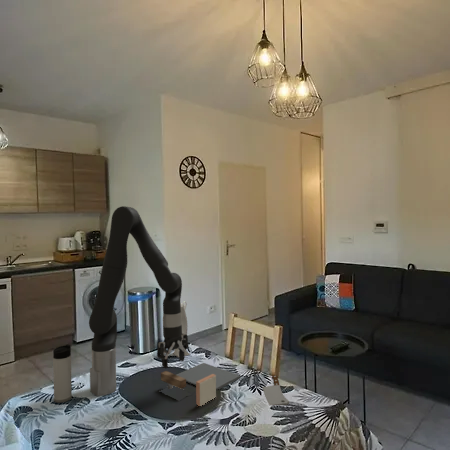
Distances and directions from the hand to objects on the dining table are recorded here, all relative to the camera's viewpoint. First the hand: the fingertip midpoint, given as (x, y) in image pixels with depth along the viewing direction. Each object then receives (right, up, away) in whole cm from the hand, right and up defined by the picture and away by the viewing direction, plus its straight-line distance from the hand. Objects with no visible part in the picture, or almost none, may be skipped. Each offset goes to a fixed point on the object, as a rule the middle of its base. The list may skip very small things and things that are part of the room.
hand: (173, 364), depth 145 cm
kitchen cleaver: (+40, -11, +1) cm, 41 cm away
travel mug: (-42, -12, -4) cm, 44 cm away
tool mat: (+13, -11, +13) cm, 21 cm away
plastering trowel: (+1, -11, -1) cm, 11 cm away
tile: (+13, -11, -8) cm, 19 cm away
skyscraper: (-2, -11, +40) cm, 42 cm away
